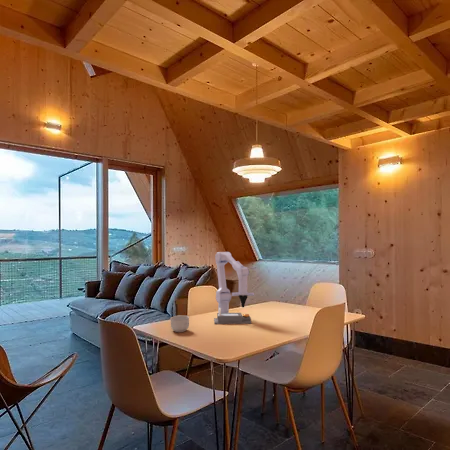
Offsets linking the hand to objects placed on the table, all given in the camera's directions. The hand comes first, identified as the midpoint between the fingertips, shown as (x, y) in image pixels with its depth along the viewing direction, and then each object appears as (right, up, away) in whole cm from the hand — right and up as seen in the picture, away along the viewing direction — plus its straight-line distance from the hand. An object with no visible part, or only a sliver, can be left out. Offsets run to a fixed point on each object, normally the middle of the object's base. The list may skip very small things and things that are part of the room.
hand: (242, 307), depth 239 cm
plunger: (+2, -8, 0) cm, 8 cm away
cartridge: (-9, -8, -1) cm, 12 cm away
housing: (-7, -9, -1) cm, 12 cm away
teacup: (-38, -9, -23) cm, 45 cm away
